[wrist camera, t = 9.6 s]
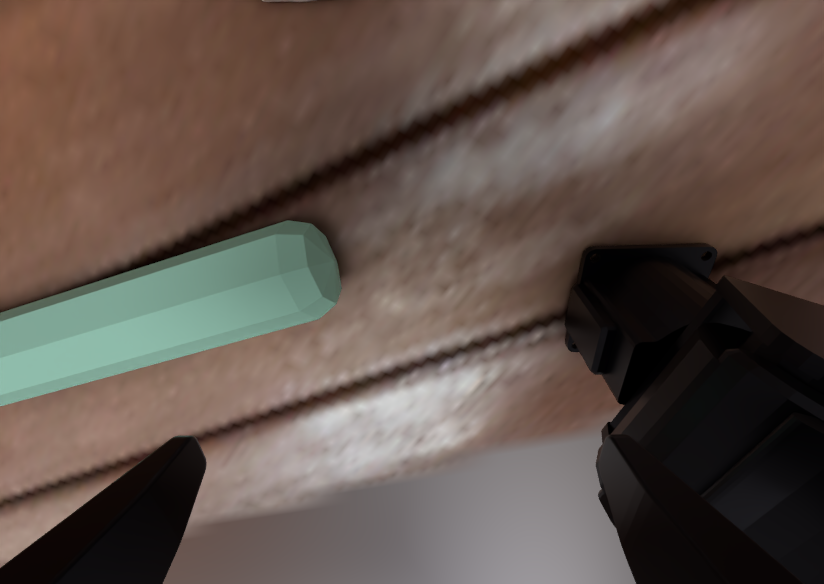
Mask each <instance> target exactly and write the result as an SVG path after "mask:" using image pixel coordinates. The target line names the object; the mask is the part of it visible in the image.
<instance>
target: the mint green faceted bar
mask: <svg viewBox="0 0 824 584" xmlns="http://www.w3.org/2000/svg"><path fill="white" fill-rule="evenodd" d="M341 289H342V287H341V281H340V275H339V269H338V263H337V260H336V258H335V256H334V254H333V251H332V249H331V247H330V245H329V243H328V240H327V238H326V236H325V235H324V234H323V233H322V232H321V231H319V230H318V229H317V228H316V227H315V226H314V225H313V224H311V223H304V222H297V221H290V220H287V221H284V222H281V223H277V224H274V225H271V226H268V227H265V228H262V229H259V230H256V231H253V232H249V233H246V234H243V235H240V236H237V237H234V238H231V239H228V240H225V241H222V242H218V243H215V244H212V245H209V246H206V247H203V248H200V249H197V250H194V251H190V252H187V253H184V254H181V255H178V256H175V257H172V258H169V259H166V260H162V261H159V262H156V263H153V264H150V265H147V266H144V267H141V268H138V269H135V270H131V271H128V272H125V273H122V274H119V275H116V276H113V277H110V278H107V279H103V280H100V281H97V282H94V283H91V284H88V285H85V286H82V287H79V288H75V289H72V290H69V291H66V292H63V293H60V294H57V295H54V296H51V297H48V298H44V299H41V300H38V301H35V302H32V303H29V304H26V305H23V306H20V307H16V308H13V309H10V310H7V311H4V312H1V313H0V406H3V405H7V404H10V403H14V402H18V401H21V400H25V399H29V398H32V397H36V396H40V395H43V394H47V393H51V392H54V391H58V390H62V389H65V388H69V387H73V386H76V385H80V384H84V383H87V382H91V381H95V380H98V379H102V378H105V377H109V376H113V375H116V374H120V373H124V372H127V371H131V370H135V369H138V368H142V367H146V366H149V365H153V364H157V363H160V362H164V361H168V360H171V359H175V358H179V357H182V356H186V355H189V354H193V353H197V352H200V351H204V350H208V349H211V348H215V347H219V346H222V345H226V344H230V343H233V342H237V341H241V340H244V339H248V338H252V337H255V336H259V335H263V334H266V333H270V332H274V331H277V330H281V329H284V328H288V327H292V326H295V325H299V324H303V323H306V322H310V321H314V320H317V319H320V318H321V317H322V316H323V315H324V314H325V313H327V312H328V311H329V310H330V309H331V308H332V307H333V306H335V305H336V304H337V301H338V298H339V295H340V292H341Z"/></svg>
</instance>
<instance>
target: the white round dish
mask: <svg viewBox="0 0 824 584" xmlns="http://www.w3.org/2000/svg"><path fill="white" fill-rule="evenodd" d="M261 1H264V2H281V1H285V2H309V1H317V0H261Z"/></svg>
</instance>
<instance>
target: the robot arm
mask: <svg viewBox="0 0 824 584" xmlns="http://www.w3.org/2000/svg"><path fill="white" fill-rule="evenodd" d="M705 252H707V253H706V255H705V256H703V257H701V256H702V254H703V253H705ZM593 254H597V257H596V258H595V259H592V260H591V259H590V257H591V256H592V255H593ZM716 257H717V250H716V249H715V248H714V247H712V246H710V245H709V244H668V245H620V246H592V247H589V248H587V249H586V250H585V251H584V253H583V255H582V260H581V265H580V270H579V275H578V280H577V284H575V285H574V286H573V287H572V289H571V295H570V300H569V305H568V310H567V315H566V320H565V327H566V329H567V334H566V339H565V344H566V346H567V348H568V349H569V350H570V351H571V352H580V353H581V355H582V357H583V359H584V360H585V362H586V364H587V366H588V368H589V369H590V371H591V372H593V373H594V374H595V375H598V374H602V376H603V378H604V380H605V381H606V383H607V385H608V386H609V388H610V390H611V391H612V393H613V395H614V396H615V398H616V400H617V401H618V403H619V404H623V405H624V407H623V408H622V409H621V410H620V412H619V413H618V414H617V415H616V417H615V418H614V419H613V421H612V422H608V423H607V424H606V425H605V426H604V428H603V429H602V431H601V432H602V442H603V444H602V446H601V447H600V448H599V450H598V455H597V460H596V468H597V473H598V477H599V482H600V486H601V488H602V489H601V490H600V491H599V494H598V497H599V500H600V502H601V504H602V505H603V507H604V509H605V511H606V513H607V514H608V517H609V518H610V520H611V522H612V523H613V525H614V526H615V527H616V529H617V533H618V536H619V539H620V542H621V546H622V548H623V551H624V554H625V556H626V559H627V561H628V564H629V567H630V569H631V571H632V574H633V577H634V579H635V582H636V584H824V306H823V305H820V304H817V303H813V302H810V301H807V300H804V299H800V298H797V297H794V296H791V295H787V294H784V293H781V292H778V291H775V290H771V289H768V288H765V287H762V286H758V285H755V284H752V283H749V282H745V281H742V280H739V279H736V278H732V277H729V276H726V275H724V276H723V277H722V279H721V280H720V281H719V282H718V284H715V283H714V282H712V281H711V280H710V279H708V277H709V275H710V272H711V270H712V267H713V264H714V262H715V259H716ZM573 343H575V344H573ZM205 470H206V458H205V456H204V453H203V451H202V449H201V447H200V445H199V442H198V440H197V438H196V437H194V436H175V437H173V438H171V439H170V440H169V441H167V442H166V443H165V444H163V445H162V446H161V447H159V448H158V449H157V450H155V451H154V452H153V453H151V454H150V455H149V456H147V457H146V458H145V459H144V460H142V461H141V462H140V463H138V464H137V465H136V466H134V467H133V468H132V469H130V470H129V471H128V472H126V473H125V474H124V475H122V476H121V477H120V478H118V479H117V480H116V481H114V482H113V483H112V484H111V485H109V486H108V487H107V488H105V489H104V490H103V491H101V492H100V493H99V494H97V495H96V496H95V497H93V498H92V499H91V500H89V501H88V502H87V503H85V504H84V505H83V506H81V507H80V508H79V509H77V510H76V511H75V512H74V513H72V514H71V515H70V516H68V517H67V518H66V519H64V520H63V521H62V522H60V523H59V524H58V525H56V526H55V527H54V528H52V529H51V530H50V531H48V532H47V533H46V534H44V535H43V536H42V537H41V538H39V539H38V540H37V541H35V542H34V543H33V544H31V545H30V546H29V547H27V548H26V549H25V550H23V551H22V552H21V553H19V554H18V555H17V556H15V557H14V558H13V559H11V560H10V561H9V562H7V563H6V564H5V565H4V566H2V567H1V568H0V584H163V581H164V579H165V577H166V575H167V572H168V570H169V568H170V566H171V563H172V561H173V559H174V557H175V554H176V552H177V550H178V547H179V545H180V543H181V540H182V537H183V535H184V532H185V529H186V526H187V523H188V520H189V517H190V514H191V512H192V509H193V506H194V503H195V500H196V497H197V494H198V491H199V488H200V485H201V482H202V479H203V476H204V473H205Z"/></svg>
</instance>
